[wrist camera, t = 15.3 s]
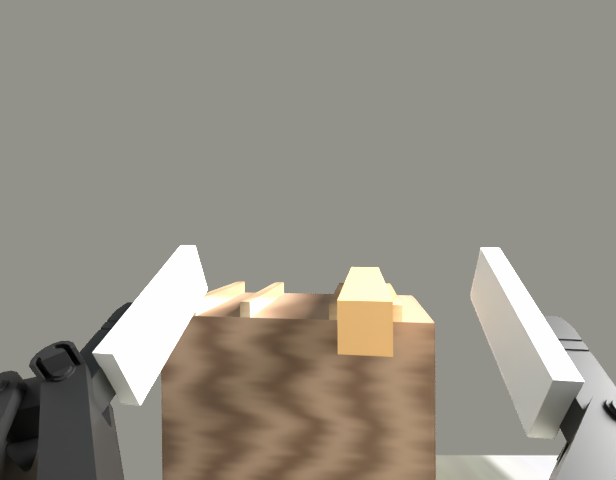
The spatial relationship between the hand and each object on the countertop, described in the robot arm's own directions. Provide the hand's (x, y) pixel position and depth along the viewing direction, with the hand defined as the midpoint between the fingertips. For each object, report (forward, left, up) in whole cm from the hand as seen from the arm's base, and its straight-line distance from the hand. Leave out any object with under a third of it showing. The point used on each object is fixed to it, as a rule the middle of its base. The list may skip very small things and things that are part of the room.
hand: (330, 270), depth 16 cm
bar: (+2, +18, -6) cm, 19 cm away
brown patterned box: (-5, +22, -36) cm, 43 cm away
